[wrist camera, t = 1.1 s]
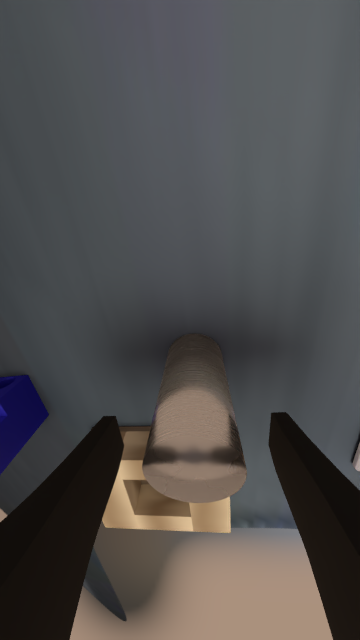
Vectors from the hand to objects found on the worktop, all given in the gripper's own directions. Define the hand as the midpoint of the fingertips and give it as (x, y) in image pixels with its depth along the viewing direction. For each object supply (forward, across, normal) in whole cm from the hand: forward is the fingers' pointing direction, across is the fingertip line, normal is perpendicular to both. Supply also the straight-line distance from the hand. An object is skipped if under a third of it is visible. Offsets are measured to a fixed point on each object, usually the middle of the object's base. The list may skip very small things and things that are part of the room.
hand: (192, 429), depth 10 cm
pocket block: (+6, +4, +12) cm, 14 cm away
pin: (+6, 0, 0) cm, 6 cm away
